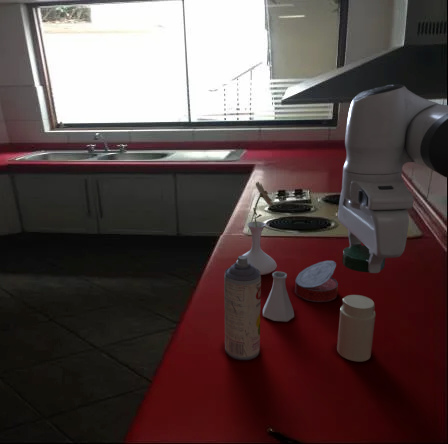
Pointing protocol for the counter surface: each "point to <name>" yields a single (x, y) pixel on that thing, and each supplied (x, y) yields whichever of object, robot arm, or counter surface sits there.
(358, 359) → the white jar
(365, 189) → the robot arm
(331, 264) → the canned food
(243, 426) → the counter surface
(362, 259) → the lid
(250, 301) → the aerosol can
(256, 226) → the flower in vase
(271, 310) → the flask
